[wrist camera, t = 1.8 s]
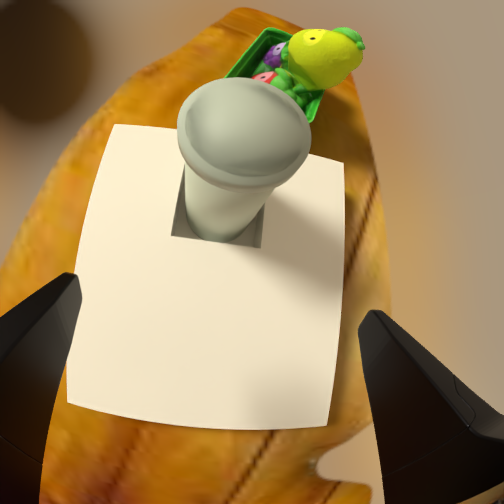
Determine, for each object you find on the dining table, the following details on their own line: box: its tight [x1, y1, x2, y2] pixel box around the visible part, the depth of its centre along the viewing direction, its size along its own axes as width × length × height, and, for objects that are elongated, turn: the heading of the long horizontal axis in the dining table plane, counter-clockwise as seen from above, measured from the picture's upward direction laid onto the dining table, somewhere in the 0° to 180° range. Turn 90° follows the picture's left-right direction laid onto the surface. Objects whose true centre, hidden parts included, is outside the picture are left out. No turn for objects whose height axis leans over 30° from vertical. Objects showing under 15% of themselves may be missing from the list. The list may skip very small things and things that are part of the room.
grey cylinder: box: [177, 77, 311, 243], centre depth 16 cm, size 5×5×11 cm
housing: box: [67, 124, 345, 430], centre depth 19 cm, size 20×18×4 cm
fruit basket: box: [224, 27, 365, 123], centre depth 20 cm, size 11×9×11 cm
